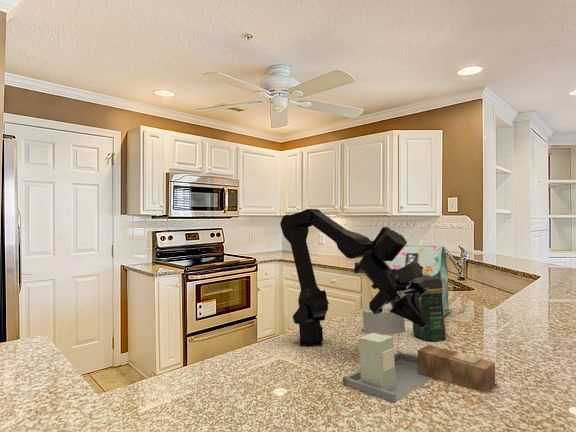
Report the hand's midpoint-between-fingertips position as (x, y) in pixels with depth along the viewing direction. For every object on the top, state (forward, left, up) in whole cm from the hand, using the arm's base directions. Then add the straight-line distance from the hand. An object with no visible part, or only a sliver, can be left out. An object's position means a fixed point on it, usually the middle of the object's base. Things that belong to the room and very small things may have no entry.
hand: (425, 325), depth 81 cm
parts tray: (-8, -2, -11) cm, 13 cm away
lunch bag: (+17, +61, -11) cm, 64 cm away
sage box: (-13, -7, -10) cm, 18 cm away
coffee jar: (+10, +29, -11) cm, 32 cm away
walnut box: (-1, +1, -7) cm, 8 cm away
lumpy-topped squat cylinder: (-2, +38, -11) cm, 39 cm away
